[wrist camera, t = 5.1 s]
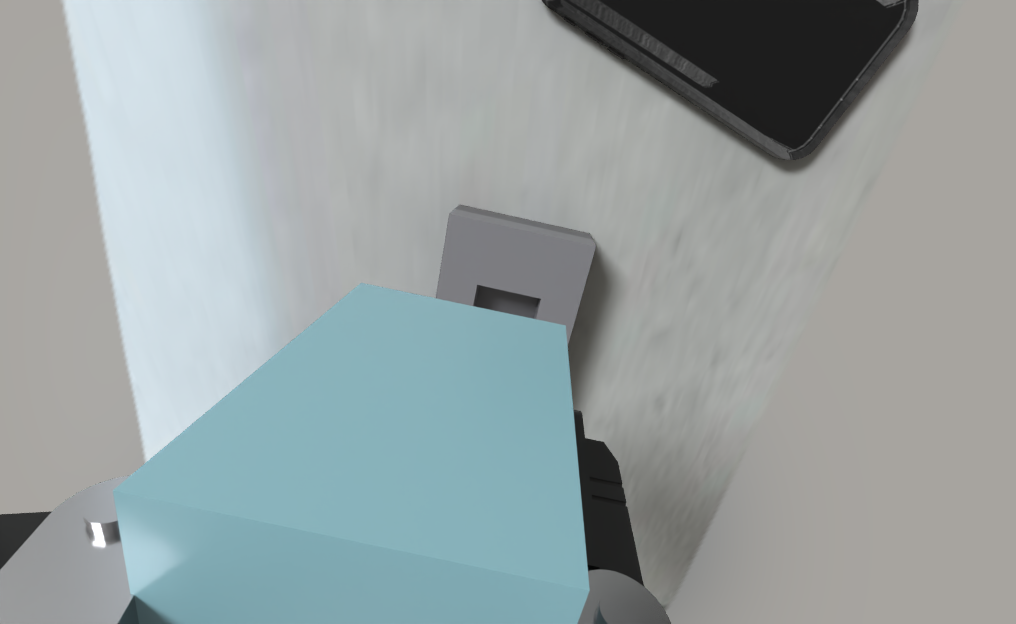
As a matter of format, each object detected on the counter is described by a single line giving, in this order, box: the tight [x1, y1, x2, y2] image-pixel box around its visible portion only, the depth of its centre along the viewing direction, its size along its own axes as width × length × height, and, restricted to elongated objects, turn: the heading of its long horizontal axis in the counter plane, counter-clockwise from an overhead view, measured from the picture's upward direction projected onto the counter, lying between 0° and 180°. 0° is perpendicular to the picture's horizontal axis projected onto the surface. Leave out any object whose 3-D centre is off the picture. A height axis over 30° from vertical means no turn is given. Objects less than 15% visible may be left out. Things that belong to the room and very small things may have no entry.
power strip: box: [436, 205, 596, 346], centre depth 27 cm, size 22×7×4 cm, turn 168°
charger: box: [113, 283, 590, 624], centre depth 8 cm, size 5×4×7 cm
